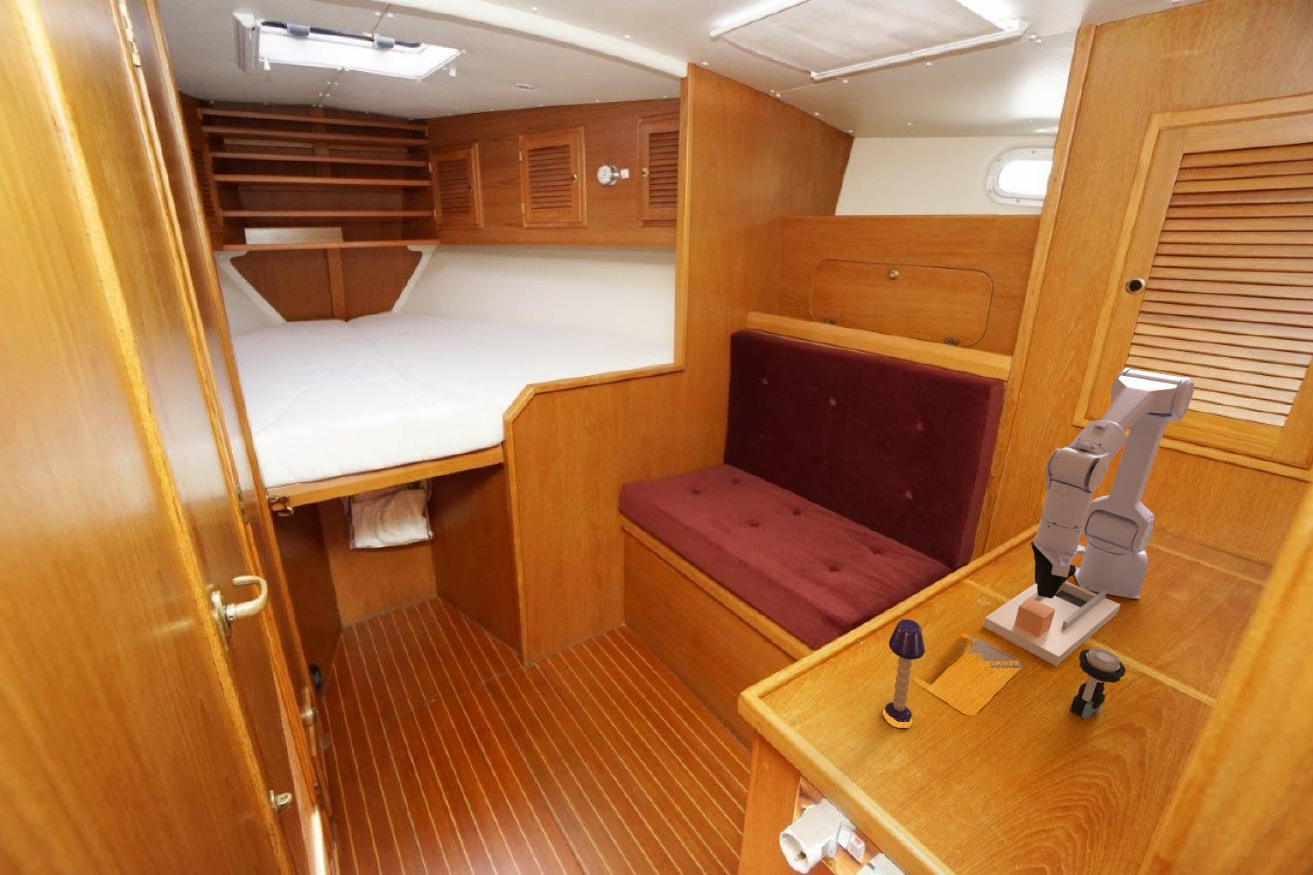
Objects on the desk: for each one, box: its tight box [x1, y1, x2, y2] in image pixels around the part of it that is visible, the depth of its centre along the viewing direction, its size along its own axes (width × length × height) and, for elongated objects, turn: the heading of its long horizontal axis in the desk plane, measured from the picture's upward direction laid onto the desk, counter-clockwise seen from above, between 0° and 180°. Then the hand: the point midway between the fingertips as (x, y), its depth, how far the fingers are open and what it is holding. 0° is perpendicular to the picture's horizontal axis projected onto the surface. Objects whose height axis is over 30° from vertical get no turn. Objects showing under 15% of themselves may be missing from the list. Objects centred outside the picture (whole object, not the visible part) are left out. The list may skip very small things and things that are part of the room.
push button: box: [1069, 647, 1126, 721], centre depth 84 cm, size 7×5×10 cm
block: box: [1014, 598, 1055, 637], centre depth 99 cm, size 4×4×4 cm
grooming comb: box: [962, 636, 1024, 669], centre depth 93 cm, size 18×10×1 cm, turn 127°
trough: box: [982, 580, 1121, 667], centre depth 104 cm, size 24×12×4 cm, turn 123°
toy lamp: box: [884, 618, 926, 722], centre depth 82 cm, size 5×5×17 cm
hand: (1043, 590), depth 97 cm, fingers open, 3 cm apart
